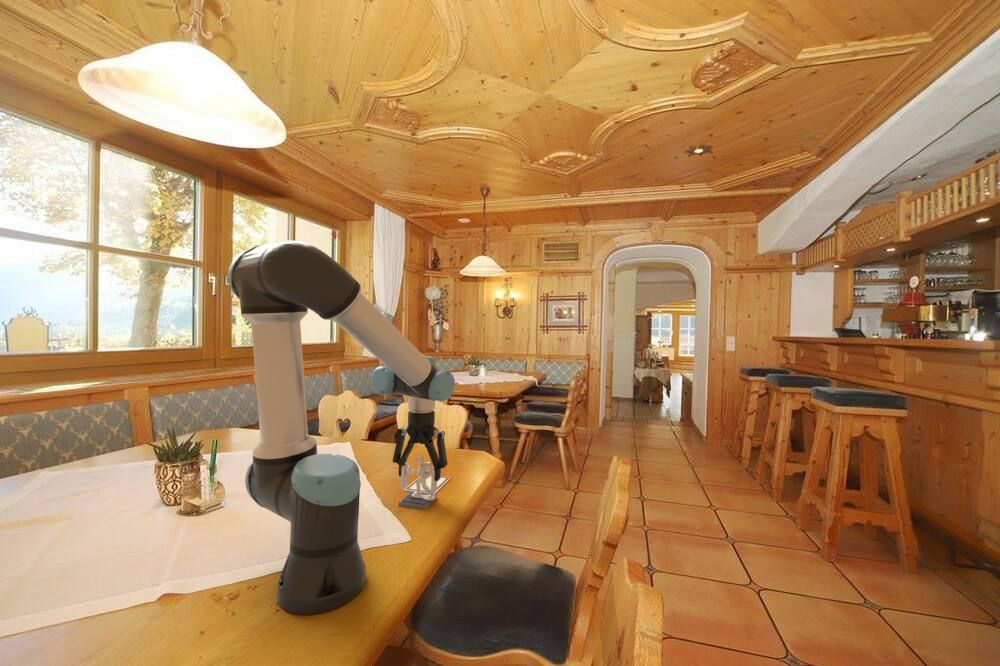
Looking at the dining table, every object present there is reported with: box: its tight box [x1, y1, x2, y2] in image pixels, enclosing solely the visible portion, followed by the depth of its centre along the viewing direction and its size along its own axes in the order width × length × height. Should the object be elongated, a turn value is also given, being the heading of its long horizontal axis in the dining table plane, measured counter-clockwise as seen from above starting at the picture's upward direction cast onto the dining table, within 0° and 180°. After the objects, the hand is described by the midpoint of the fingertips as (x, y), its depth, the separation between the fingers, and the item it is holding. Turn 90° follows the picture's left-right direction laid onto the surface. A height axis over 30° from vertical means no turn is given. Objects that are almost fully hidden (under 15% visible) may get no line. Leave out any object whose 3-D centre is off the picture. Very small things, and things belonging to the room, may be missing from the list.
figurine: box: [406, 454, 436, 501], centre depth 112 cm, size 5×9×12 cm, turn 86°
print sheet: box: [403, 474, 452, 495], centre depth 126 cm, size 14×10×1 cm
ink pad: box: [398, 491, 437, 511], centre depth 112 cm, size 8×8×1 cm
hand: (418, 489), depth 112 cm, fingers open, 8 cm apart
